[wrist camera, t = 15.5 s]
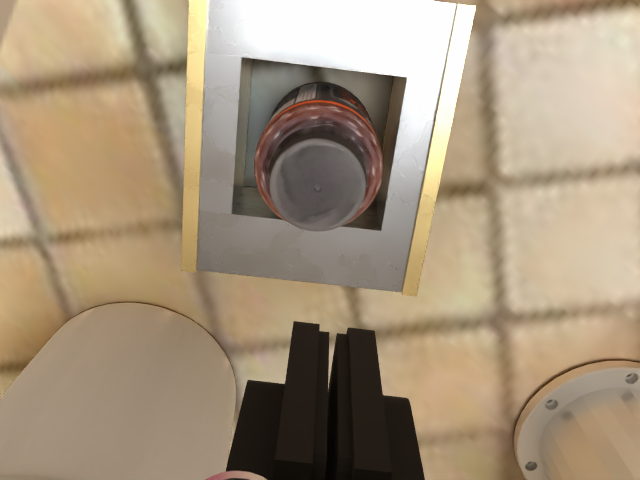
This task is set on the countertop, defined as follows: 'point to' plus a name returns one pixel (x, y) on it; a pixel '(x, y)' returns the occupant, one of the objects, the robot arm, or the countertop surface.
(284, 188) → the supplement bottle
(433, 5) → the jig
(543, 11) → the countertop surface
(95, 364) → the utensil holder
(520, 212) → the countertop surface
